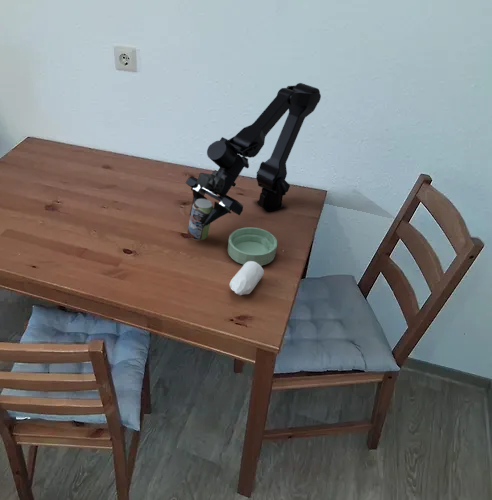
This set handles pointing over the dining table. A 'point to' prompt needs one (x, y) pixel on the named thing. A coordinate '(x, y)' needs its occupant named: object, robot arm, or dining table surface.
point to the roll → (246, 278)
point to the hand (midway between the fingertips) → (197, 220)
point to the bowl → (252, 246)
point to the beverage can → (199, 219)
